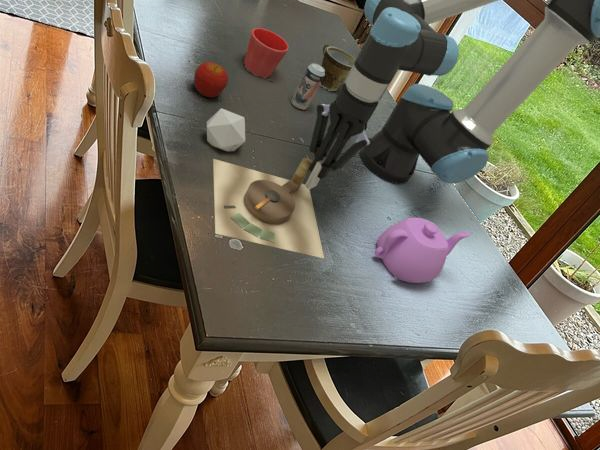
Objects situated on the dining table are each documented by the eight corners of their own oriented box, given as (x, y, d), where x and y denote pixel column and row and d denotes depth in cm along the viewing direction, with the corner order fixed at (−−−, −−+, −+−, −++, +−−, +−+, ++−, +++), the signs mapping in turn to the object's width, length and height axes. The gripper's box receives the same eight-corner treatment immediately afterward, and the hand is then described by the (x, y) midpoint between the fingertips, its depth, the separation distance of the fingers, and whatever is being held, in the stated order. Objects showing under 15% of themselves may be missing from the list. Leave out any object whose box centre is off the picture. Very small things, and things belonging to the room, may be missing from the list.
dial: (271, 233, 109) (287, 206, 105) (231, 201, 111) (245, 174, 107) (314, 198, 124) (329, 173, 120) (278, 171, 125) (291, 145, 121)
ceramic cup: (347, 96, 172) (363, 68, 167) (322, 94, 166) (338, 65, 160) (324, 70, 179) (339, 42, 173) (300, 68, 172) (314, 38, 166)
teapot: (380, 288, 115) (412, 248, 108) (356, 238, 123) (384, 199, 116) (453, 290, 125) (486, 254, 118) (426, 244, 133) (456, 208, 126)
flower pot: (282, 77, 162) (296, 47, 157) (260, 84, 154) (274, 53, 148) (254, 56, 164) (267, 25, 159) (231, 62, 156) (244, 30, 150)
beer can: (287, 103, 153) (307, 64, 146) (294, 98, 157) (313, 60, 150) (302, 113, 153) (323, 75, 146) (309, 107, 157) (328, 70, 149)
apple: (217, 87, 143) (228, 60, 138) (223, 106, 138) (235, 78, 133) (187, 80, 139) (197, 52, 135) (192, 99, 134) (203, 70, 130)
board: (306, 189, 128) (309, 185, 127) (321, 262, 112) (324, 257, 111) (211, 163, 120) (213, 158, 119) (213, 237, 104) (215, 232, 103)
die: (220, 166, 121) (258, 138, 120) (193, 133, 118) (232, 103, 117) (219, 156, 129) (255, 129, 128) (194, 124, 126) (230, 97, 125)
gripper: (397, 108, 108) (342, 200, 122) (347, 69, 112) (299, 163, 126) (378, 115, 102) (322, 210, 116) (325, 74, 106) (278, 171, 120)
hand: (310, 185), depth 121 cm, fingers closed
